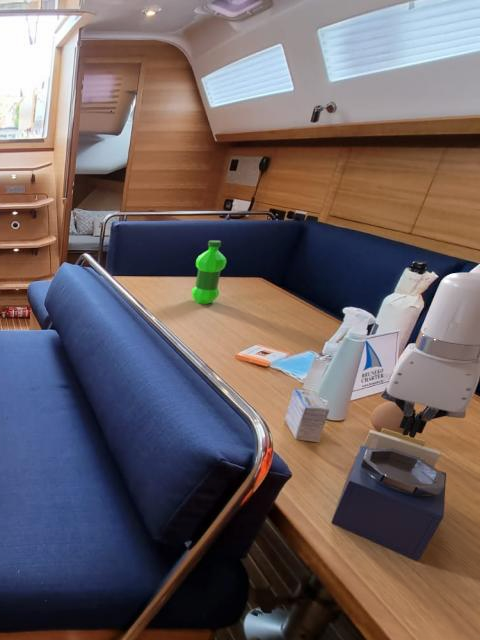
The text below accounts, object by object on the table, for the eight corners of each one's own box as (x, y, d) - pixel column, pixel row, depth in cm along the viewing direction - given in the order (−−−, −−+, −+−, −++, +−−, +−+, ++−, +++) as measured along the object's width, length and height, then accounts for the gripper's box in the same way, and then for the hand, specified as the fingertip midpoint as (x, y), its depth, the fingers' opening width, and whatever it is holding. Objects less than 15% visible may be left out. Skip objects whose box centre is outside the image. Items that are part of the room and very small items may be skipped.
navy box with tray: (344, 484, 79) (361, 444, 75) (423, 515, 72) (446, 472, 68) (331, 523, 72) (349, 480, 68) (417, 561, 65) (443, 516, 61)
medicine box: (318, 443, 90) (331, 410, 87) (294, 439, 92) (305, 407, 88) (306, 422, 97) (317, 391, 93) (283, 419, 98) (293, 388, 95)
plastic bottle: (211, 297, 176) (223, 238, 166) (221, 306, 167) (234, 244, 156) (186, 297, 178) (196, 239, 168) (194, 306, 168) (205, 244, 158)
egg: (359, 424, 95) (371, 393, 92) (392, 426, 94) (406, 395, 91) (377, 442, 90) (391, 410, 86) (413, 444, 88) (429, 412, 85)
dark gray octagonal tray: (364, 450, 74) (369, 441, 73) (439, 476, 68) (445, 466, 67) (356, 477, 68) (360, 467, 67) (437, 507, 62) (443, 497, 61)
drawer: (361, 447, 87) (374, 416, 84) (425, 468, 81) (442, 436, 78) (346, 491, 77) (361, 458, 73) (419, 520, 70) (438, 485, 67)
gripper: (515, 350, 68) (468, 440, 76) (389, 328, 78) (359, 410, 86) (518, 367, 64) (467, 461, 71) (385, 341, 74) (353, 426, 81)
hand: (408, 432), depth 79 cm, fingers closed
